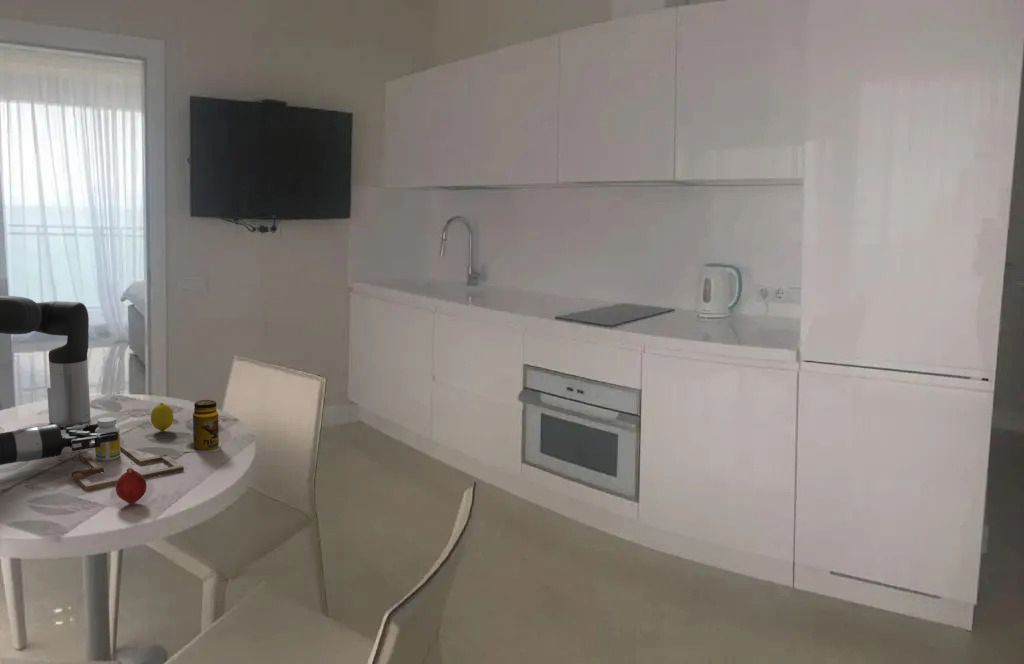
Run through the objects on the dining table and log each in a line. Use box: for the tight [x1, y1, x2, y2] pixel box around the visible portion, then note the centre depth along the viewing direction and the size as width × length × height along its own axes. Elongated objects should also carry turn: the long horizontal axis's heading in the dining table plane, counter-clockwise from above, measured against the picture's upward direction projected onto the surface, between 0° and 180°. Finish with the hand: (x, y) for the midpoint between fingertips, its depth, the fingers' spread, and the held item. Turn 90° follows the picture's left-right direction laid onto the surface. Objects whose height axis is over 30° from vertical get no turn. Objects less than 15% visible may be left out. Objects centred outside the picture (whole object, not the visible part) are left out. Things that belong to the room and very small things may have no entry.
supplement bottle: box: [94, 416, 121, 462], centre depth 195 cm, size 5×5×10 cm
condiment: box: [182, 399, 223, 453], centre depth 206 cm, size 7×8×12 cm
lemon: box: [150, 402, 174, 433], centre depth 217 cm, size 6×6×8 cm
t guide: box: [70, 444, 185, 492], centre depth 191 cm, size 24×21×1 cm
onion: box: [115, 467, 147, 505], centre depth 169 cm, size 6×6×8 cm
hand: (111, 430), depth 196 cm, fingers open, 8 cm apart
